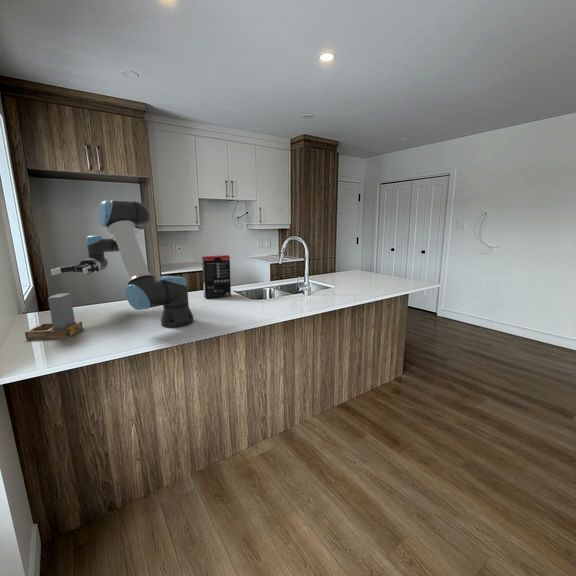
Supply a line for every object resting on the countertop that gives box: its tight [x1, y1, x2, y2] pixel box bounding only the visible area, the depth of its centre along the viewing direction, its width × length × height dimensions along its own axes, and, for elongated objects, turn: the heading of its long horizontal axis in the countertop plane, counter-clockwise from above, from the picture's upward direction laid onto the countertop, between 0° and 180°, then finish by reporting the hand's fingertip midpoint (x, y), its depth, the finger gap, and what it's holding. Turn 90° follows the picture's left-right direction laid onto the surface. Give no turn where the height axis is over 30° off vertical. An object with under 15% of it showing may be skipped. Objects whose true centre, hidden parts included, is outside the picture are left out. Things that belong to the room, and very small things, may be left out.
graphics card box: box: [201, 254, 232, 300], centre depth 206 cm, size 17×7×27 cm, turn 118°
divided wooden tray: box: [24, 321, 84, 341], centre depth 142 cm, size 12×18×4 cm
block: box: [47, 292, 76, 330], centre depth 141 cm, size 8×5×17 cm, turn 8°
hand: (67, 271), depth 147 cm, fingers open, 13 cm apart
